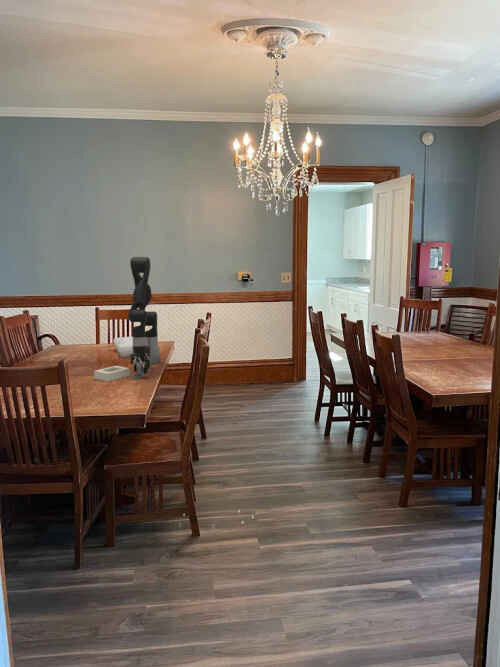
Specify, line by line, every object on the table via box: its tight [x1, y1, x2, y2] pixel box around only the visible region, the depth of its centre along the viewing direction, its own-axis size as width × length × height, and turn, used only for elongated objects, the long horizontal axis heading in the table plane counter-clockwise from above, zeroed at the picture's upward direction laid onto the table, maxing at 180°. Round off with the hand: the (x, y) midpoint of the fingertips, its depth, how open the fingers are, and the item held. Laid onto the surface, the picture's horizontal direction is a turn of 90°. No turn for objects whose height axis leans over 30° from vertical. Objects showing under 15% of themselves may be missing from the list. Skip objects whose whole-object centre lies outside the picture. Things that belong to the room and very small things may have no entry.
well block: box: [93, 365, 131, 382], centre depth 294 cm, size 16×12×4 cm
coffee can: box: [133, 346, 152, 372], centre depth 311 cm, size 10×10×14 cm
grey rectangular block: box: [130, 362, 146, 380], centre depth 292 cm, size 6×4×9 cm, turn 142°
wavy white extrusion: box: [112, 336, 133, 359], centre depth 361 cm, size 35×16×11 cm, turn 19°
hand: (140, 372), depth 294 cm, fingers open, 7 cm apart
